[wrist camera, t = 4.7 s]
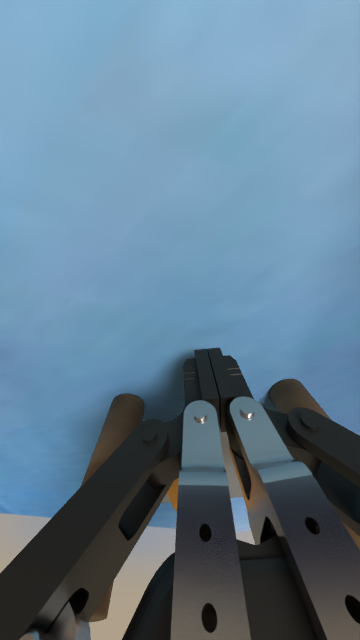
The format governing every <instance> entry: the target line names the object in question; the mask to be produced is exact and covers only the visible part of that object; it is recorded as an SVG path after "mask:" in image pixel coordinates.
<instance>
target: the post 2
mask: <svg viewBox="0 0 360 640" xmlns="http://www.w3.org/2000/svg"><path fill="white" fill-rule="evenodd" d="M269 397H270V399H271V400H272V402H273V404H274V406H275V407H276V409H277V411H278V412H280V413H285V414H289V412H290V411H291V410H292V409H293V408H296V407H304V408H308V409H311V410H314V411H316V412H318V413H319V414H321V415H323V416H325V417H327V418H328V419H330V418H329V416H328V415H327V414H326V413H325V412H324V410H323V409H322V408H321V407H320V406H319V404H318V403H317V402H316V401H315V399H314V398H313V397H312V396H311V395H310V393H309V392H308V391H307V390H306V388H305V387H304V386H303V385H302V384H301V382H299V381H298V380H295V379H285V380H282V381H279V382H278V383H276V384H275V385H274V386H273V387H272V388H271V389H270V391H269ZM330 420H331V419H330ZM342 523H343V522H342ZM343 524H344V523H343ZM344 526H345V527H346V529H347V531H348V532H349V534H350V535H351V537H352V539H353V540H354V542H355V543H356V545H357V547H358V548H359V550H360V536H359V535H357V534H356V533H355V532H354V531H353V530H352V529H350V528H349V527H348V526H347V525H346V524H344Z"/></svg>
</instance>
